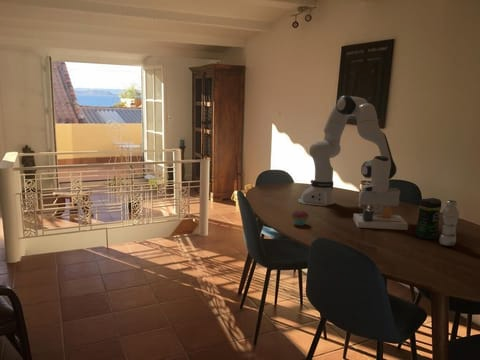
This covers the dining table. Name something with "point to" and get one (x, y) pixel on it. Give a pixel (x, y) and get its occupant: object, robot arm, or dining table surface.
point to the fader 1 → (367, 214)
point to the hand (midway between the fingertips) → (377, 213)
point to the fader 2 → (387, 211)
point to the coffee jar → (428, 218)
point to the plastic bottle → (449, 224)
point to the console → (381, 222)
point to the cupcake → (300, 217)
